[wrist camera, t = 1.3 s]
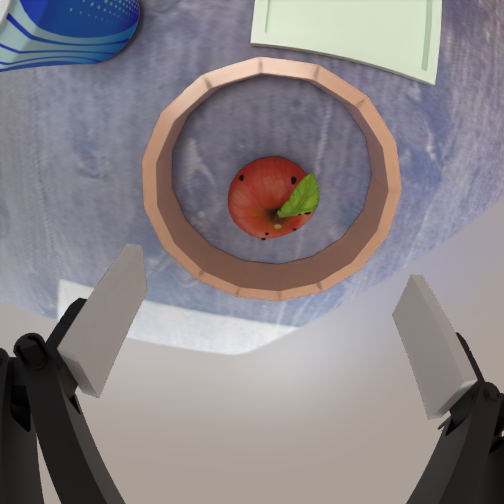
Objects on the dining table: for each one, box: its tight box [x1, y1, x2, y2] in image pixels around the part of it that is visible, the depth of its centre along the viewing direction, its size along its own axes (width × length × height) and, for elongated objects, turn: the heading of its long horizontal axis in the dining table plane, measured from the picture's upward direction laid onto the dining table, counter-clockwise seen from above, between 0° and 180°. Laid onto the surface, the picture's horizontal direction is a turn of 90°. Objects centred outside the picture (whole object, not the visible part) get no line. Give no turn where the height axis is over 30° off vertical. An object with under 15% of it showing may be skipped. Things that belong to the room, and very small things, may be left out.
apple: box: [228, 157, 319, 240], centre depth 23 cm, size 8×7×10 cm
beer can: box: [0, 0, 140, 72], centre depth 12 cm, size 8×8×16 cm
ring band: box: [142, 57, 402, 301], centre depth 25 cm, size 21×21×4 cm
